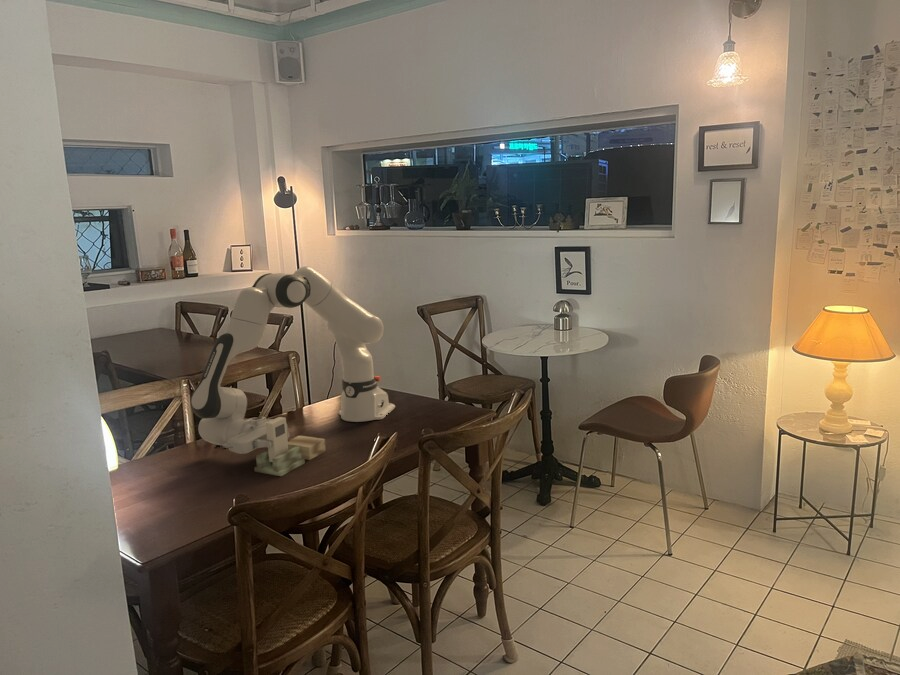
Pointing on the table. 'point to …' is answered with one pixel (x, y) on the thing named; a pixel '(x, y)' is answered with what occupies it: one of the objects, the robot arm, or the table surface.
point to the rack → (279, 462)
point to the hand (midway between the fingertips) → (279, 439)
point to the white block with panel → (277, 437)
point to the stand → (308, 446)
